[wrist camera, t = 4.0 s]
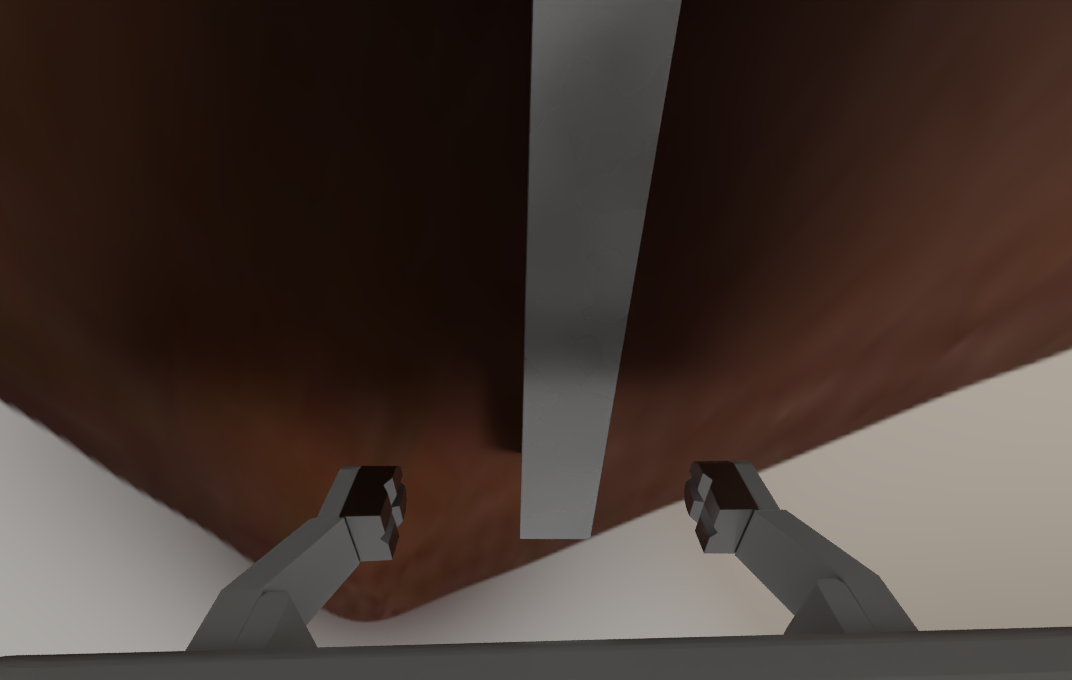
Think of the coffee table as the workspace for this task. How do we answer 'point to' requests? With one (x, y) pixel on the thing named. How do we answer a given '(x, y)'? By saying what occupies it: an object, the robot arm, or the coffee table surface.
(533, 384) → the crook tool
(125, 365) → the coffee table surface
